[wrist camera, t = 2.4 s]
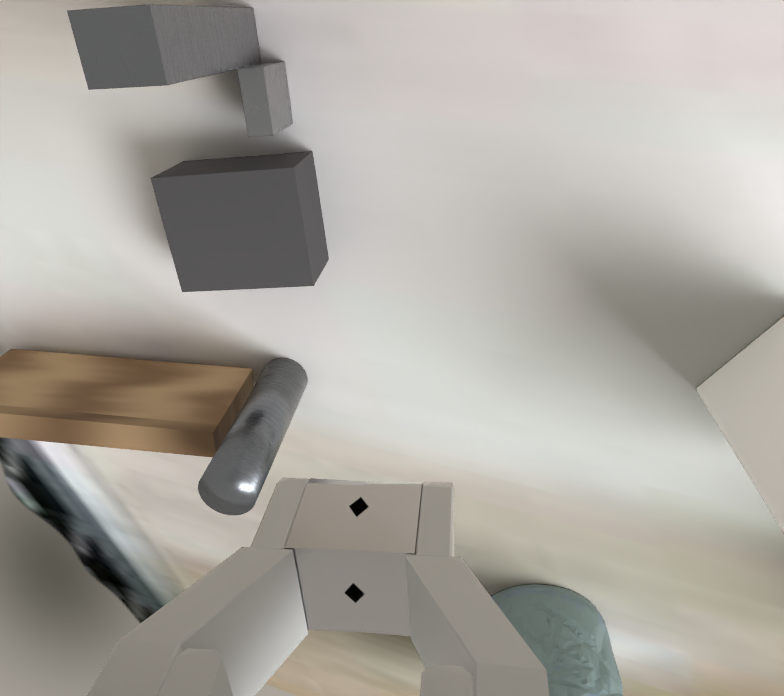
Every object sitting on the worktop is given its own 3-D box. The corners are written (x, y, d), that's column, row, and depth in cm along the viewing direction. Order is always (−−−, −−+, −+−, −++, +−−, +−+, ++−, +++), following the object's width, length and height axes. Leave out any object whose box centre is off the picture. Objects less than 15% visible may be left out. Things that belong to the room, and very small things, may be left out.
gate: (252, 368, 32) (213, 432, 27) (254, 391, 32) (216, 457, 28) (11, 348, 33) (-69, 407, 28) (18, 371, 34) (-59, 431, 29)
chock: (185, 160, 28) (150, 178, 25) (313, 150, 27) (293, 167, 24) (211, 264, 30) (182, 291, 27) (329, 257, 29) (313, 285, 26)
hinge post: (259, 358, 32) (192, 469, 24) (304, 357, 32) (250, 470, 24) (267, 396, 33) (204, 514, 25) (310, 396, 33) (260, 516, 25)
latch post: (195, 12, 24) (66, 10, 17) (277, 6, 24) (185, 1, 16) (216, 126, 27) (111, 173, 19) (292, 123, 26) (217, 169, 18)
